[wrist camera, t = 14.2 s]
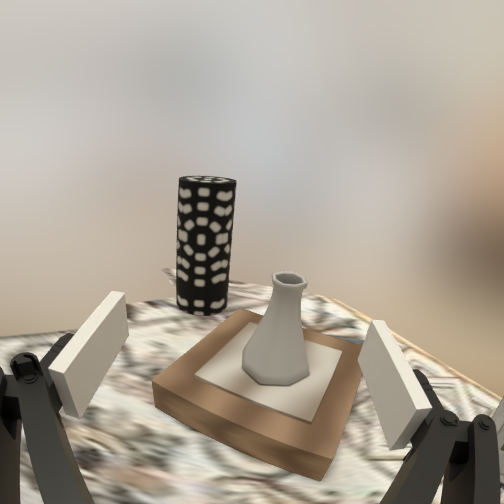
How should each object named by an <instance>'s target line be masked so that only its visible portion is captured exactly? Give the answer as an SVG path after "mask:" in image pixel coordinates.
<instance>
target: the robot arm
mask: <svg viewBox="0 0 504 504" xmlns="http://www.w3.org/2000/svg"><path fill="white" fill-rule="evenodd" d="M128 336H129V332H128V323H127V313H126V303H125V293H121V292H115V291H112V292H111V293H110V294H109V295H108V296H107V297H106V298H105V300H104V301H103V302H102V303H101V304H100V306H98V308H97V309H96V310H95V311H94V312H93V313H92V315H91V316H90V317H89V318H88V319H87V321H86V322H85V323H84V324H83V325H82V327H81V328H80V329H79V330H78V331H77V333H76V334H71V333H67V334H66V335H64V336H62V337H60V338H59V340H58V341H57V342H56V343H55V344H54V346H53V347H52V348H51V349H50V351H48V353H47V354H46V355H45V356H44V357H43V359H42V360H41V361H40V362H39V361H38V358H37V356H36V355H34V354H33V353H29V352H26V353H20V354H18V355H16V356H15V357H13V359H12V360H11V363H10V366H11V369H12V371H13V374H14V375H6V374H4V372H3V370H2V368H1V367H0V504H20V443H21V428H22V423H23V428H24V433H25V438H26V443H27V447H28V451H29V455H30V459H31V463H32V467H33V470H34V474H35V477H36V481H37V484H38V487H39V490H40V493H41V496H42V499H43V502H44V504H95V503H94V501H93V499H92V497H91V495H90V493H89V491H88V488H87V486H86V484H85V482H84V479H83V477H82V475H81V472H80V470H79V467H78V465H77V462H76V460H75V457H74V454H73V452H72V449H71V446H70V444H69V441H68V438H67V435H66V432H65V429H64V426H63V422H62V419H61V416H60V414H59V410H60V409H61V407H62V406H63V408H64V411H65V413H66V414H67V415H69V416H72V417H75V418H78V419H81V418H82V416H83V414H84V412H85V410H86V409H87V407H88V405H89V403H90V401H91V399H92V398H93V396H94V394H95V392H96V391H97V389H98V387H99V385H100V383H101V382H102V380H103V378H104V377H105V375H106V373H107V371H108V370H109V368H110V366H111V364H112V363H113V361H114V359H115V358H116V356H117V354H118V353H119V351H120V349H121V348H122V346H123V344H124V343H125V341H126V339H127V338H128ZM358 362H359V365H360V368H361V370H362V373H363V376H364V378H365V381H366V384H367V387H368V389H369V392H370V395H371V398H372V400H373V403H374V406H375V409H376V412H377V415H378V417H379V420H380V423H381V426H382V429H383V432H384V435H385V438H386V441H387V444H388V447H389V450H397V449H404V448H405V447H406V446H407V444H408V443H409V441H411V443H412V446H413V447H412V448H411V450H410V451H409V452H408V454H407V455H406V456H405V457H404V459H403V461H404V463H403V464H402V466H401V468H400V470H399V472H398V474H397V475H396V477H395V479H394V481H393V482H392V484H391V486H390V487H389V489H388V491H387V492H386V494H385V496H384V497H383V499H382V500H381V502H380V504H431V503H432V501H433V499H434V496H435V494H436V492H437V489H438V487H439V485H440V482H441V480H442V477H443V475H444V480H443V489H442V496H441V503H440V504H500V464H499V450H498V439H497V431H496V425H495V422H494V421H493V419H492V418H490V417H489V416H487V415H484V414H479V415H477V416H476V417H475V418H474V420H473V421H472V422H469V421H460V420H459V418H458V417H457V416H456V414H454V413H453V412H451V411H448V410H444V408H443V407H442V405H441V403H440V401H439V399H438V397H437V396H436V394H435V392H434V390H433V388H432V387H431V385H429V381H428V380H427V378H426V376H425V375H424V374H423V373H422V372H421V371H419V370H418V369H415V370H412V369H411V367H410V365H409V363H408V361H407V360H406V358H405V356H404V354H403V353H402V351H401V349H400V347H399V346H398V344H397V342H396V340H395V339H394V337H393V335H392V334H391V332H390V330H389V328H388V327H387V325H386V324H385V322H384V321H382V320H371V323H370V326H369V329H368V332H367V335H366V338H365V340H364V343H363V346H362V349H361V352H360V354H359V357H358Z"/></svg>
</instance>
